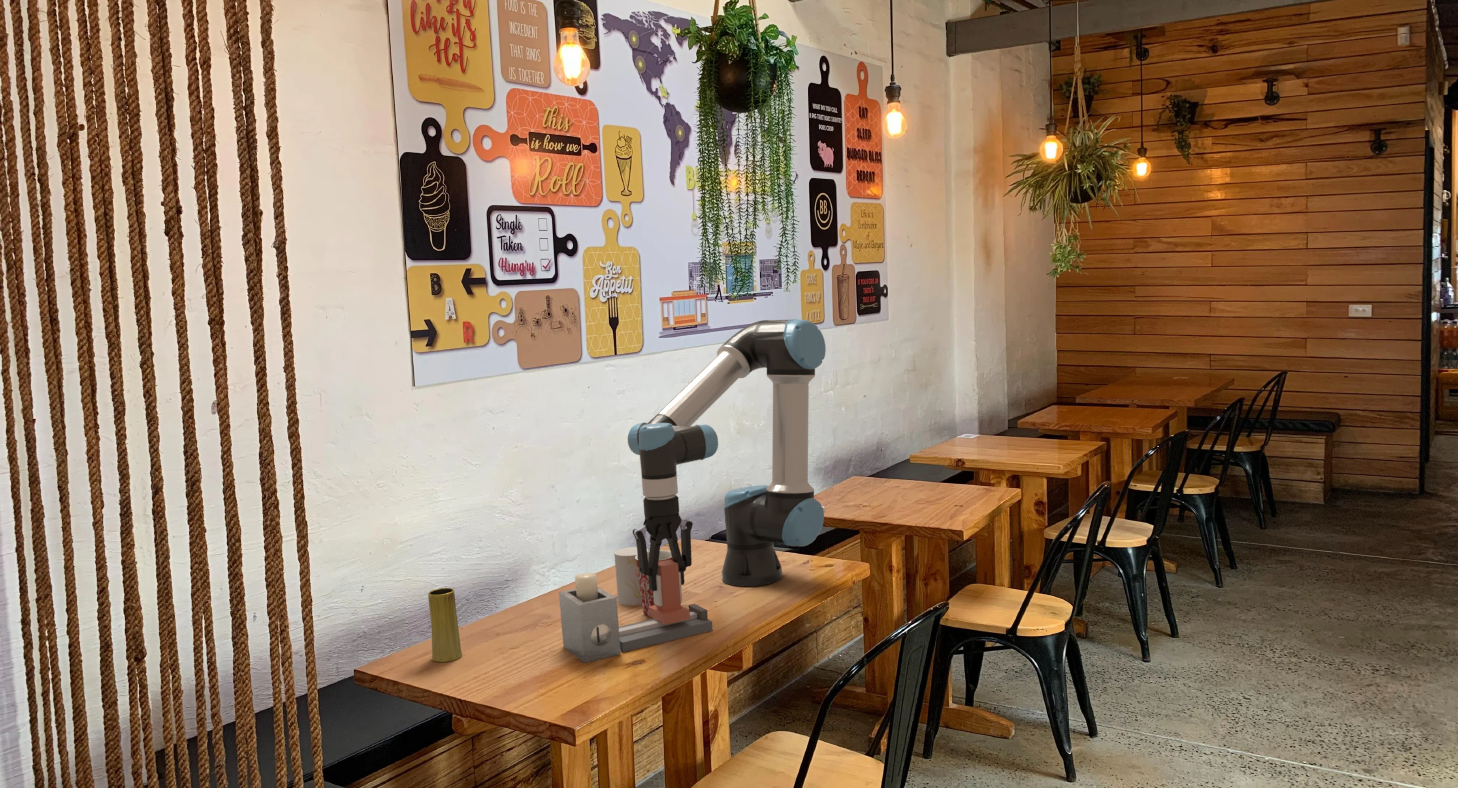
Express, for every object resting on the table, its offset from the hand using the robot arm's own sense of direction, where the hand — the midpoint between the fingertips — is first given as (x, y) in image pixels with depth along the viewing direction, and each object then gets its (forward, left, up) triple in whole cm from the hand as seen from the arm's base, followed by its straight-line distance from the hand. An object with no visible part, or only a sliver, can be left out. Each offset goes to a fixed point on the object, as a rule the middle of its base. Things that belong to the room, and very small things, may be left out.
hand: (668, 602), depth 231 cm
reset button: (+18, 0, +4) cm, 19 cm away
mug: (-6, -15, -7) cm, 17 cm away
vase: (+44, -16, -7) cm, 48 cm away
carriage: (0, 0, -3) cm, 3 cm away
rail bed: (+3, 0, -7) cm, 7 cm away
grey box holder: (+18, 0, -7) cm, 19 cm away
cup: (-4, -27, -7) cm, 28 cm away
